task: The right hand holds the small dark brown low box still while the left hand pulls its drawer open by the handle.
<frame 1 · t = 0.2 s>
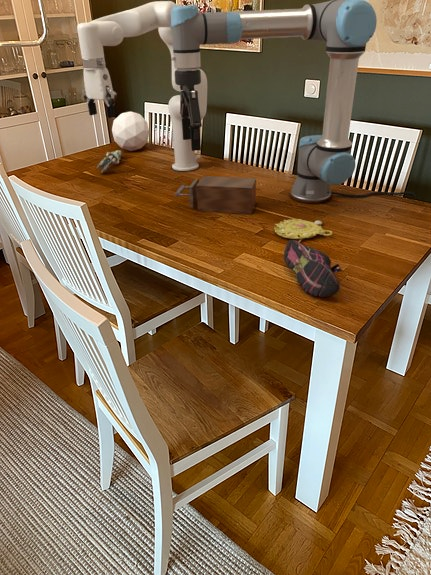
left hand: (102, 116, 162), 31 cm above the table, tool pointing down, fingers open, 9 cm apart
right hand: (191, 144, 138), 28 cm above the table, tool pointing down, fingers open, 13 cm apart
figurine: (111, 165, 215), on the table
athletic shoe: (315, 280, 121), on the table
decorative object: (301, 233, 146), on the table
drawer: (209, 193, 165), point 5 cm above the table, slide at 1.8 cm
dark brown low box: (227, 207, 167), on the table
sphere: (133, 149, 238), on the table
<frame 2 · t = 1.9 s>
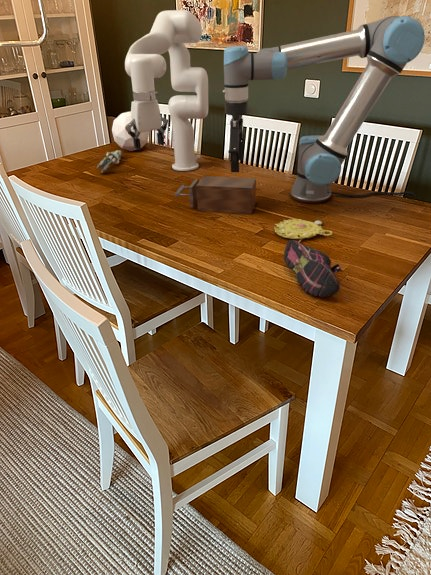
left hand: (149, 146, 162), 21 cm above the table, tool pointing down, fingers open, 9 cm apart
right hand: (237, 165, 154), 17 cm above the table, tool pointing down, fingers open, 13 cm apart
nothing on the table moved.
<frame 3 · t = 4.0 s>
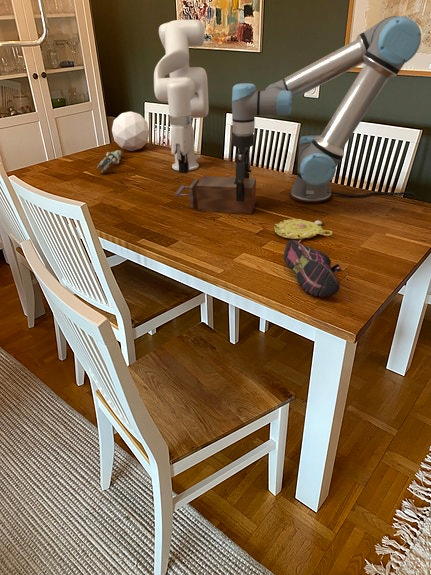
left hand: (184, 172, 163), 13 cm above the table, tool pointing down, fingers closed
right hand: (242, 195, 163), 5 cm above the table, tool pointing down, fingers closed on dark brown low box, 10 cm apart
dark brown low box: (227, 207, 167), on the table, touching right hand
everything else where it was.
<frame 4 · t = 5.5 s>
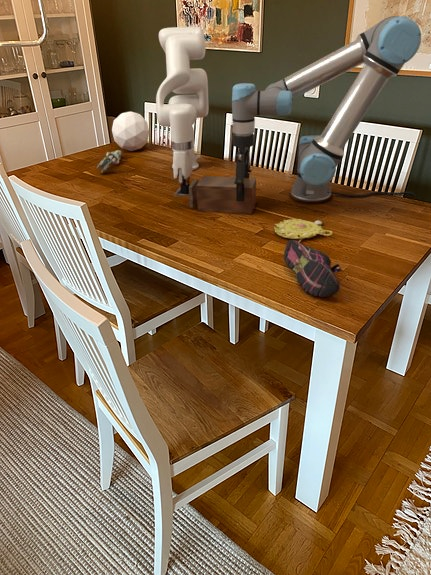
left hand: (185, 194, 167), 4 cm above the table, tool pointing down, fingers closed
right hand: (242, 195, 163), 5 cm above the table, tool pointing down, fingers closed on dark brown low box, 10 cm apart
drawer: (209, 193, 165), point 5 cm above the table, slide at 1.9 cm, touching left hand
dark brown low box: (227, 207, 167), on the table, touching right hand
everything else where it was.
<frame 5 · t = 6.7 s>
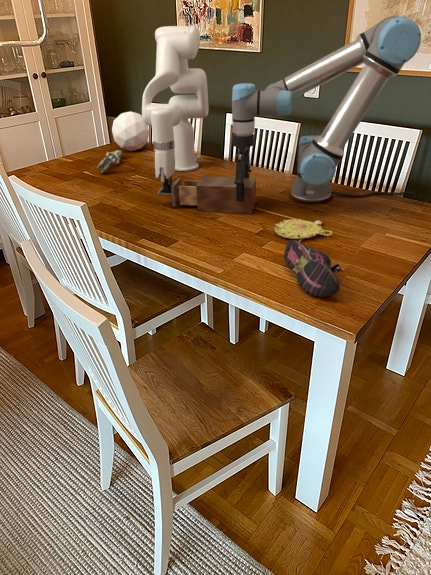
left hand: (168, 193, 169), 4 cm above the table, tool pointing down, fingers closed
right hand: (242, 195, 163), 5 cm above the table, tool pointing down, fingers closed on dark brown low box, 10 cm apart
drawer: (191, 192, 167), point 5 cm above the table, slide at 8.7 cm, touching left hand
dark brown low box: (227, 207, 167), on the table, touching right hand
everything else where it was.
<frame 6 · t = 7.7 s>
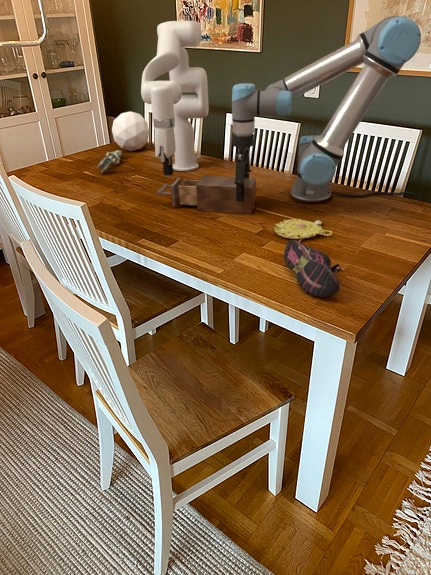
left hand: (168, 174, 165), 12 cm above the table, tool pointing down, fingers closed
right hand: (242, 195, 163), 5 cm above the table, tool pointing down, fingers closed on dark brown low box, 10 cm apart
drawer: (191, 192, 167), point 5 cm above the table, slide at 8.7 cm
dark brown low box: (226, 207, 167), on the table, touching right hand
everything else where it was.
when the right hand's fingers open (5 cm above the table, at t = 8.3 s): dark brown low box stays where it is, on the table.
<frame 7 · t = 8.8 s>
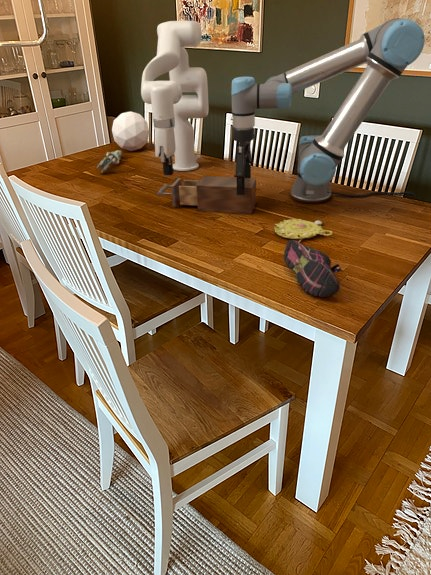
left hand: (168, 174, 165), 12 cm above the table, tool pointing down, fingers closed
right hand: (244, 188, 161), 8 cm above the table, tool pointing down, fingers open, 13 cm apart
dark brown low box: (227, 207, 167), on the table
everything else where it was.
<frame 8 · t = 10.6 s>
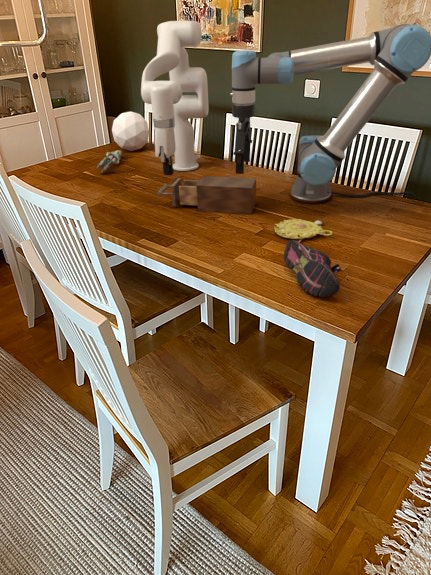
left hand: (168, 174, 165), 12 cm above the table, tool pointing down, fingers closed
right hand: (243, 167, 157), 15 cm above the table, tool pointing down, fingers open, 13 cm apart
nothing on the table moved.
at the end: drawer slide at 8.7 cm; dark brown low box tilted 0°; dark brown low box never tilted more than 1° during the clip; dark brown low box moved 0.0 cm from its start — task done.
